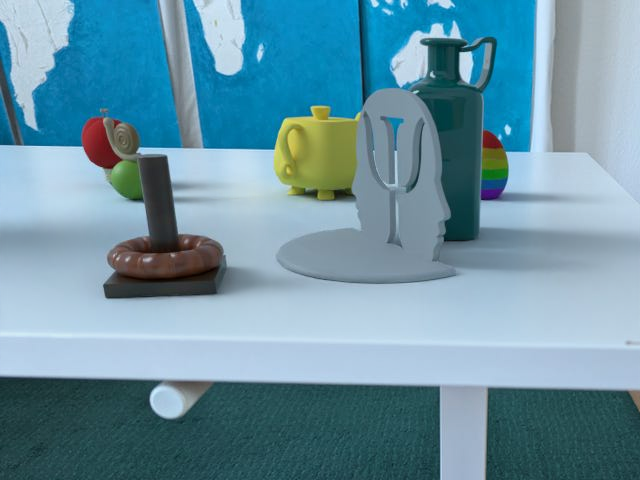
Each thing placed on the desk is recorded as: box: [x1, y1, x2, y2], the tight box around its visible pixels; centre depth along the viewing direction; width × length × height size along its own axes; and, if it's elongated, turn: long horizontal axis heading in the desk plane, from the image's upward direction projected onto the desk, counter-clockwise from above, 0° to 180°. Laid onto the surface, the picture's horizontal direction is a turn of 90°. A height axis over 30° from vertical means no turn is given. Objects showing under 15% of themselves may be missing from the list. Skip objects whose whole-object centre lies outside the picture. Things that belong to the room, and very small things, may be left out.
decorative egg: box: [481, 129, 510, 200], centre depth 109 cm, size 8×8×10 cm
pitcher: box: [405, 36, 498, 241], centre depth 82 cm, size 10×8×22 cm
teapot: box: [273, 105, 361, 201], centre depth 108 cm, size 14×20×13 cm
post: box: [102, 153, 228, 299], centre depth 63 cm, size 9×9×11 cm
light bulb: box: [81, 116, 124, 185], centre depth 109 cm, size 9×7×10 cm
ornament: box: [276, 87, 457, 284], centre depth 71 cm, size 22×13×17 cm, turn 38°
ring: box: [106, 233, 225, 279], centre depth 64 cm, size 10×10×2 cm
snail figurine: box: [99, 108, 144, 200], centre depth 98 cm, size 5×6×12 cm
